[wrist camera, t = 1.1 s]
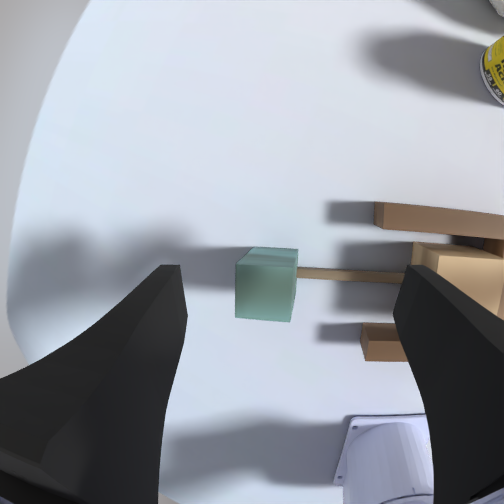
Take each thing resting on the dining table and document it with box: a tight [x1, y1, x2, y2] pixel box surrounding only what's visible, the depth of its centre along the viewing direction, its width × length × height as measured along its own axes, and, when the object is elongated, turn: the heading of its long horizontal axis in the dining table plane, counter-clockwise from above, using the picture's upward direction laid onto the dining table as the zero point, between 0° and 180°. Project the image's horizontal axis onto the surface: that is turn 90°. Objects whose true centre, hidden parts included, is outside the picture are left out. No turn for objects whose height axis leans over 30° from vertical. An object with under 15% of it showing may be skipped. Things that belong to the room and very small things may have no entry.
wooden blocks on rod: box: [235, 242, 504, 322], centre depth 18 cm, size 5×16×6 cm, turn 89°
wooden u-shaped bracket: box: [360, 202, 504, 362], centre depth 19 cm, size 10×10×3 cm
